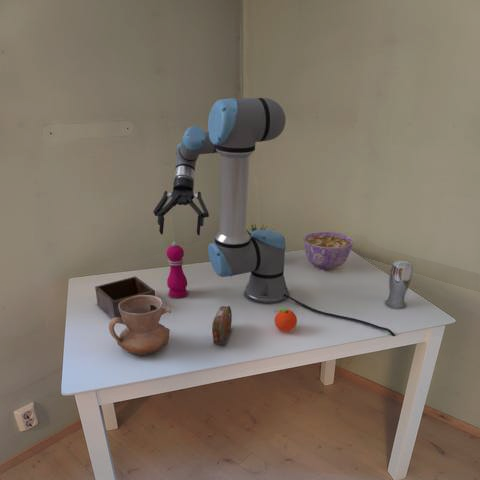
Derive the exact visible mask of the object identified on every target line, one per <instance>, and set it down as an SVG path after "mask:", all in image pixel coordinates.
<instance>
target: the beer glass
mask: <svg viewBox="0 0 480 480" xmlns="http://www.w3.org/2000/svg"><path fill="white" fill-rule="evenodd" d="M413 268H414V264H413V263H411V262H410V261H405V260H394V261H393V262H392V265H391V268H390V272H389V278H388V285H389V287H388V289H389V291H388V298H387V299H386V301H385V305H386V306H388V307H389V308H392V309H402V308H404V307H405V300H406V299H405V298H406V294H407V291H408V289H409V286H410V284H411V281H412V277H413Z"/></svg>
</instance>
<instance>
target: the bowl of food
mask: <svg viewBox="0 0 480 480" xmlns="http://www.w3.org/2000/svg"><path fill="white" fill-rule="evenodd" d="M303 244H304V251H305V257H306V259H307V261H308V262H309V264H311V265H312V266H314V267H316V268H317V269H320V270H323V271H332V270H334V269H337V268H339V267H343V266H344V264H345V263H346V262H347V260H348V258H349V256H350V253H351V251H352V248H353V245H354V239H353V238H352V237H350V236H348V235H347V234H343V233H339V232H331V231H317V232H311V233H308V234H306V235H304V237H303Z"/></svg>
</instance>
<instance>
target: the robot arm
mask: <svg viewBox="0 0 480 480" xmlns="http://www.w3.org/2000/svg"><path fill="white" fill-rule="evenodd" d="M286 119H287V118H286V114H285V111H284V108H283V107H282V106H281V105H280V104H279V103H278V102H277V101H275V100H274V99H272V98H268V97H236V98H235V97H230V98H224V99H223V98H222V99H218V100H216V102H214V104H213V105H212V107H211V108H210V111H209V115H208V121H207V131H204V130H203V129H202V128H201V127H198V126H195V125H193V126H189V127H187V129H186V130H185V132H184V134H183V136H182V138H181V142H179V143H178V144H177V147H176V151H175V166H174V167H175V168H174V176H173V186H172V192H168V191H167V190H165V191H163V194H162V195H163V196H162V198H161V199H160V200H159V202H158V203H157V205H156V206H155V208H154V210H153V215H154V217H157V224H158V226H159V230H158V231H159V234H160V235H164V227H165V226H164V225H165V216H166V214H167V213H169V211H171V210H172V209H173V208H174V207H176V206H177V205H178V206H187V205H189V206H190V207H191V208H192V210H194V212H195V213H196V215H197V224H196V234H197V236H200V235H201V227H203V226H204V224H205V223H204V222H205V218H209V217H210V213H209V210H208V208H207V206H206V204H205V202H204V200H203V199H202V192H201V191H197V192H196V193H194V187H195V175H196V164H197V161H198V158H199V156H200V155H208V154H219V155H220V171H219V172H220V175H219V177H220V181H219V184H220V185H219V189H220V190H219V191H220V192H219V230H218V232H216V233H215V235H214V242H211V243H209V244H208V246H207V247H208V248H207V252H208V259H209V262H210V265H211V267H212V269H213V272H215V274H216V275H217V276H219V277H221V278H225V277H233V276H237V275H238V276H239V275H244V274H247V273H250V276H249V279H248V282H247V285H246V286H245V297H247V299H249V300H251V301H252V302H256V303H261V304H274V303H279V302H282V301H284V300H286V298H288V299H289V300H290V301H293V302H294V303H297V304H298V305H300V306H302V307H304V308H305V309H307V310H310V311H313V312H316V313H319V314H321V315H325V316H331V317H335V318H340V319H344V320H345V319H346V320H350V321H354V322H358V323H361V324H364V325H368V326H371V327H374V328H376V329H379V330H383V331H387V332H388V333H389V334H390V335H391V336H392V337H396V335H395V333H394V332H393V331H392V330H391V329H389V328H387V327H384V326H379V325H377V324H374V323H372V322H369V321H365V320H361V319H357V318H355V317H349V316H344V315H340V314H335V313H331V312H330V313H329V312H325V311H322V310H318V309H316V308H312V307H311V306H309V305H306V304H304V303H303V302H300V301H299V300H296V299H295V298H293V297H291V296H290V295H288V294H289V293H288V291H289V289H288V286H287V282H286V278H285V276H284V273H285V257H286V255H285V254H286V249H287V248H286V238H285V236H284V235H283V234H282V233H280V232H277V231H275V230H273V231H270V230H271V229H270V230H269V229H265V230H260V229H257V230H254V231H253V232H252V231H251V233H252V234H251V236H252V237H250V235H249V234H248V233H247V231H246V230H247V220H248V202H249V201H248V199H249V197H248V196H249V180H250V179H249V177H250V157H251V155H252V154H254V153H255V151H256V143H261V142H268V141H272V140H274V139H277V138H279V136H281V134H282V133H283V131H284V129H285V127H286ZM170 198H171V199H170ZM194 198H195V199H196V200H198V204H199V206H200V207H201V209H200V207H199V206H197V204H196V203H195V202H194V201H193V200H194ZM168 200H170V201H169V202H168ZM202 211H203V212H202Z"/></svg>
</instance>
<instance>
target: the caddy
mask: <svg viewBox="0 0 480 480" xmlns="http://www.w3.org/2000/svg"><path fill="white" fill-rule="evenodd" d="M94 289H95V297H96V302H97V305H98V306H99V307H100V308H101V309H102V310H103V311H104V312H105V313H106V314H107V315H108V316H109V317H110V318H111V320H112V319H113V318H116V317H120V318H121V314H120V312H119V308H118V305H119V303H120V302H121V301H123V300H125V299H127V298H130V297H134V296H138V295H152V296H156V290H154V288H153V287H151V286H149V285H148V284H147V283H146V282H144V281H143V280H141V279H140V278H138V277H137V276H131V277H127V278H124V279H120V280H115V281H112V282H108V283H104V284H100V285H95V286H94ZM150 309H151V311H155V310H157V309H158V308H157V307H155V306H153V305H150Z"/></svg>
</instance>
